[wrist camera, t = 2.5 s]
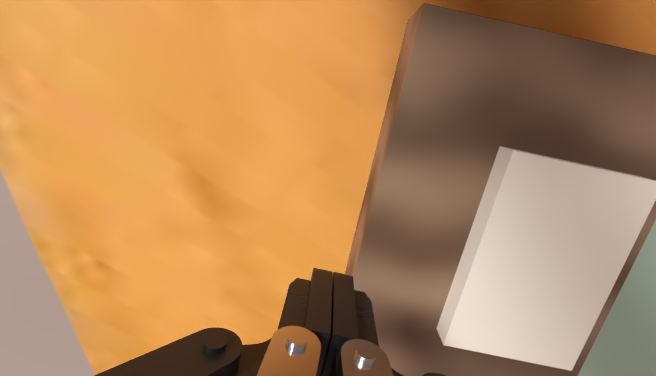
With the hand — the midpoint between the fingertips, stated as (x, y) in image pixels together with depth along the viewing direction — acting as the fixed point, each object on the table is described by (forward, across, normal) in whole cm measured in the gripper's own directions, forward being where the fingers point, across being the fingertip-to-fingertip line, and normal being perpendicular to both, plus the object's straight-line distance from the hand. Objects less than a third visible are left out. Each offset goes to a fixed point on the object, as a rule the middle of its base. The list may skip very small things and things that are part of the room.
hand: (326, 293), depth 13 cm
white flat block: (+8, -12, 0) cm, 14 cm away
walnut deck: (+12, -10, 0) cm, 15 cm away
